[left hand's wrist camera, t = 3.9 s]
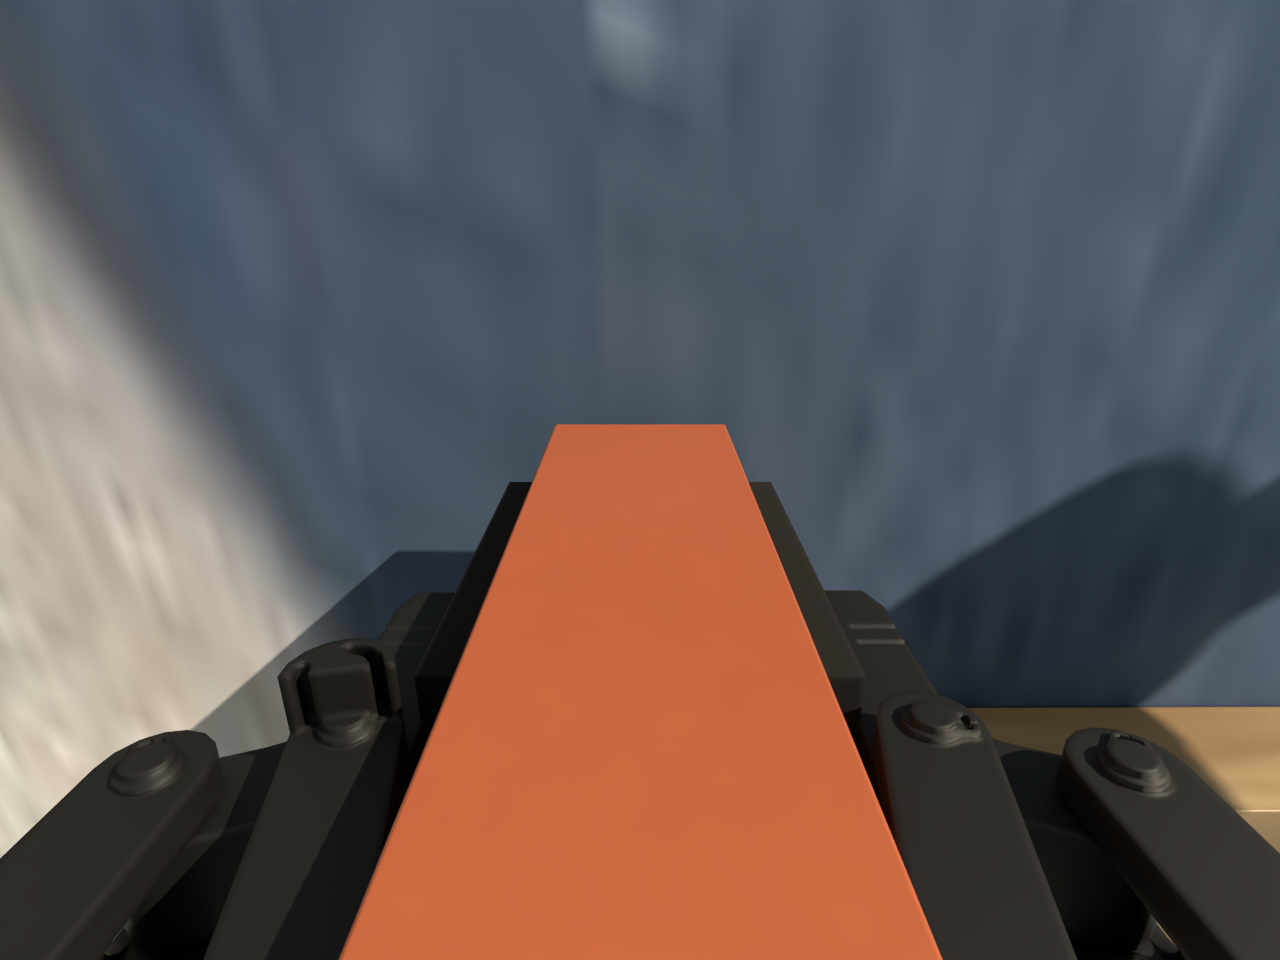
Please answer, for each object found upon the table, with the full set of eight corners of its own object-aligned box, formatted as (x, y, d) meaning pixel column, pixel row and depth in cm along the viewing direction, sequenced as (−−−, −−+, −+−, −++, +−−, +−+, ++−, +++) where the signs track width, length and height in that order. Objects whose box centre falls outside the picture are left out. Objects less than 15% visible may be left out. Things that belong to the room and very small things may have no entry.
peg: (554, 423, 16) (185, 1317, 3) (725, 424, 16) (1094, 1314, 3) (561, 574, 18) (331, 1625, 4) (718, 574, 18) (948, 1625, 4)
